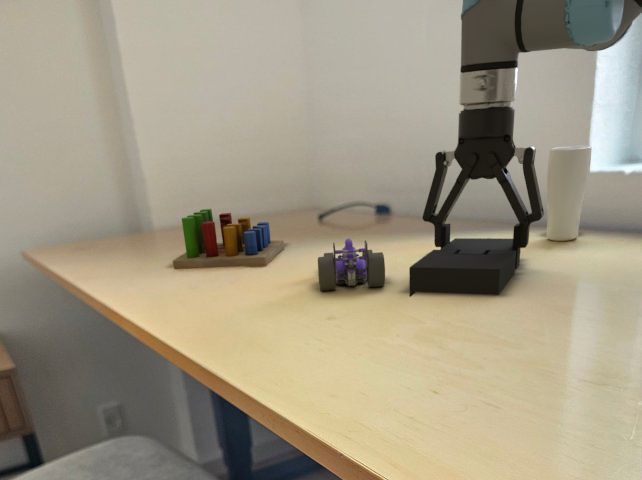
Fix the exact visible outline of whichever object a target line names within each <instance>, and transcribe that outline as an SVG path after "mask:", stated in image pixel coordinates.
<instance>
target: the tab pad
mask: <svg viewBox="0 0 642 480" xmlns="http://www.w3.org/2000/svg"><path fill="white" fill-rule="evenodd" d="M439 250H457V254H487V253H488V252H489V251H490V250H513V238H485V237H484V238H483V237H481V238H477V237H475V238H474V237H473V238H471V237H470V238H469V237H467V238H465V237H464V238H463V237H461V238H459V237H456V238H454V239H452V240H450V243H448V244H447V245H446V246H444V247H443V248H442V249H441V248H440V249H439Z"/></svg>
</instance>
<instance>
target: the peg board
mask: <svg viewBox="0 0 642 480" xmlns="http://www.w3.org/2000/svg"><path fill="white" fill-rule="evenodd" d="M218 218H219V224H220V232H221V239H222V242H218V240H217V238H218V237H217V231H216V222H215V221H214V216H213V210H212V208H202V209H200V210H199V211H194V212H193V214H188V215H186V216H185V217H181V224H182V225H181V226H182V231H183V232H182V233H183V236H184V237H183V238H184V245H185V251H186V252H184V253H182V254H181V255H179V256H178V257H176V258H175V259H173V260H172V265H173V269H174V270H193V269H195V270H196V269H212V268H213V269H214V268H217V269H218V268H235V267H236V268H238V267H263V266H267V265H268V264H269V263H270V262H271V261H272V260H273V259H274V258H276V256H278V254H279V253H281V252H282V251H283V250H284V249H285V243H284V239H277V240H272V239H271V231H270V222H269V221H260V222H258V223H257V224H256V225H253V226H252V225H251V217H239V218H238V219H237V223H233V219H232V213H231V212H226V213H220V214H219V215H218ZM251 226H252V227H251Z"/></svg>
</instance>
